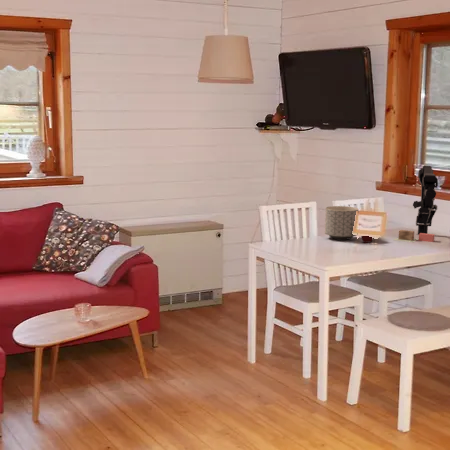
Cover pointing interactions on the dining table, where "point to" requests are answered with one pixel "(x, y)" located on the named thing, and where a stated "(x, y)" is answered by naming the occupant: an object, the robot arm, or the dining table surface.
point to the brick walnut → (406, 235)
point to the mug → (367, 239)
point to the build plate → (406, 240)
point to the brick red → (426, 237)
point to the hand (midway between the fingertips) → (427, 223)
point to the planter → (340, 222)
